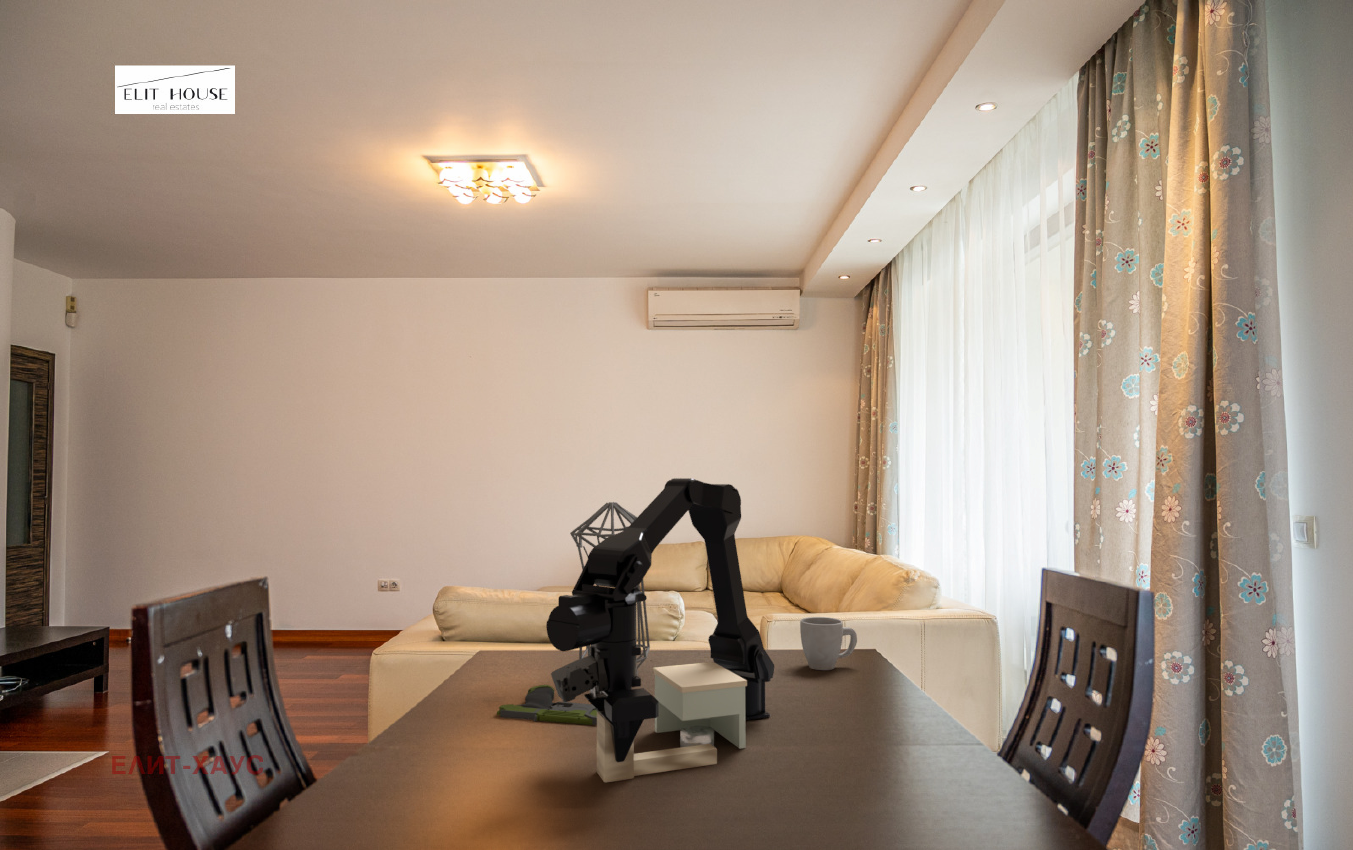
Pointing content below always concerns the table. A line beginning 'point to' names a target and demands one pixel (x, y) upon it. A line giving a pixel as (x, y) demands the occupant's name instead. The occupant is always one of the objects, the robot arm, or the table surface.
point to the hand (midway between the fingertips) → (615, 755)
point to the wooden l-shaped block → (645, 757)
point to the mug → (824, 641)
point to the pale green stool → (701, 699)
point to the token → (696, 736)
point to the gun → (549, 709)
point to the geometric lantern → (585, 525)
